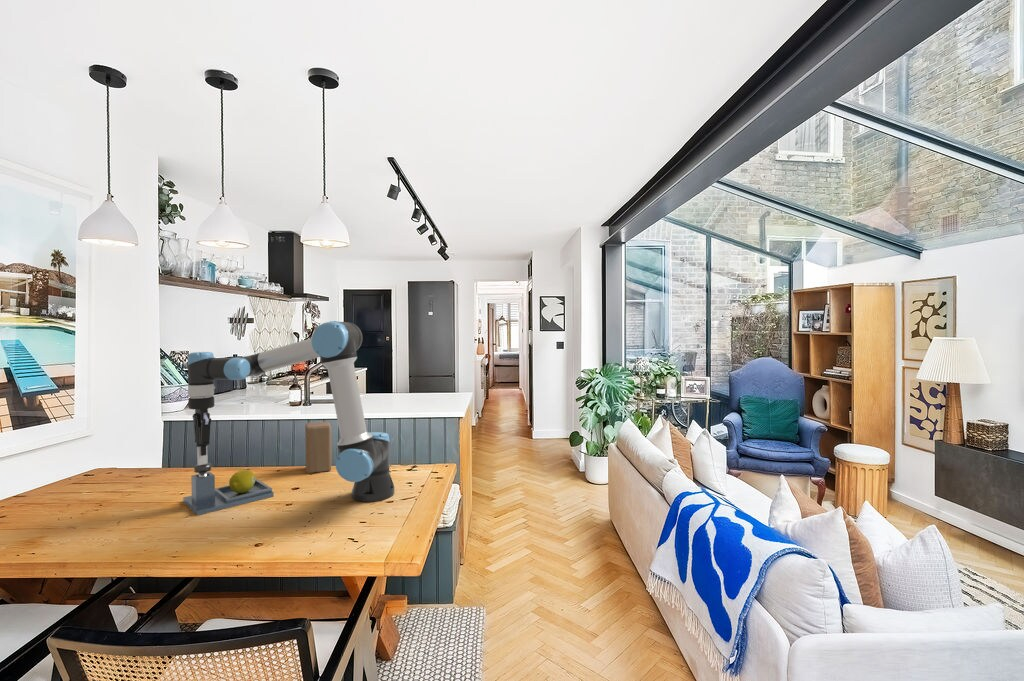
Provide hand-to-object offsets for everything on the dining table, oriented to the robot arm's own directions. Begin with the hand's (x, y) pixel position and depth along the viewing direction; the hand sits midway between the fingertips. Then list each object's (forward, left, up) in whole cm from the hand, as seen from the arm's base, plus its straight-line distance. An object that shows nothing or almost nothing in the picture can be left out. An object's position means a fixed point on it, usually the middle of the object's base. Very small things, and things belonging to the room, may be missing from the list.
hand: (202, 464), depth 165 cm
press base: (0, -8, -14) cm, 16 cm away
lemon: (0, -13, -13) cm, 18 cm away
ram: (0, 0, -11) cm, 11 cm away
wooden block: (+11, -46, -15) cm, 49 cm away
